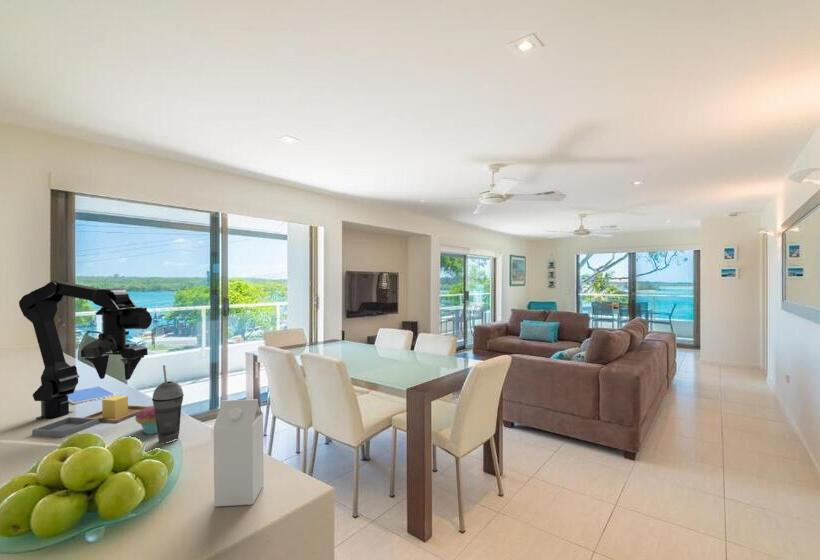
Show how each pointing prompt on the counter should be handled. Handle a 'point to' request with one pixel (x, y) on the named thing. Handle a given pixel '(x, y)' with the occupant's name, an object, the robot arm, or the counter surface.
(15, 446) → the counter surface
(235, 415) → the milk carton
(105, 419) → the tray
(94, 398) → the tablet computer
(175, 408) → the beverage cup
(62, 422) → the dish
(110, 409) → the block
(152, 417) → the cupcake
